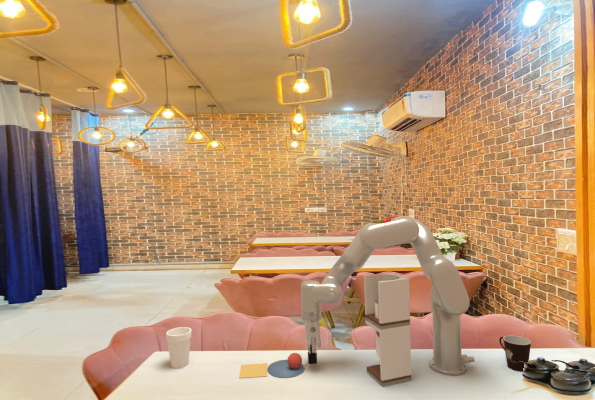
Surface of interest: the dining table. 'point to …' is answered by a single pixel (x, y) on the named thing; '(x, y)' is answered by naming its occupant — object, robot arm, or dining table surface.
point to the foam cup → (179, 346)
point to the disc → (284, 369)
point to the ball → (294, 360)
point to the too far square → (253, 370)
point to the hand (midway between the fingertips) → (312, 362)
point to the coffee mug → (516, 351)
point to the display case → (389, 326)
